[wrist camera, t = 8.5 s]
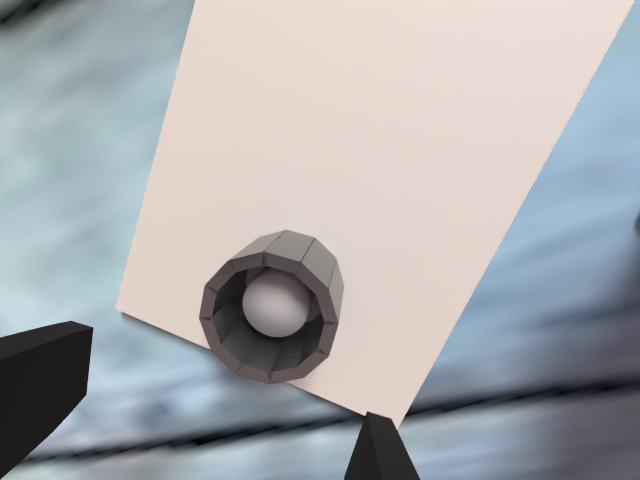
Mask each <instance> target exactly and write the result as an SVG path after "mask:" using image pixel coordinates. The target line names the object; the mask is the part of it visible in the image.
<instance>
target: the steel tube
mask: <svg viewBox="0 0 640 480" xmlns="http://www.w3.org/2000/svg"><path fill="white" fill-rule="evenodd" d="M263 265H265V266H269V267H272V268H276V269H280V270H283V271H287V272H290V273H294V274H295V275H296V276H297V277H298V278H299V279H300V280H301V281H302V282H303V283H304V284H305V285H306V286H307V287H308V288H310V289H311V290H312V291H313V292H314V293H315V294H316V296H317V299H318V302H319V306H320V309H321V313H320V314H319V315H318V316H316V317H315V318H314V319H313V320H312V321H309V322H305V323H304V324H303V326H302V327H301V328H300V329H299V330H298V331H296V332H295V333H293V334H291V335H288V336H285V337H272V336H268V335H265V334H263V333H261V332H259V331H258V330H256V329H255V328H254V327H253V326H252V325H251V324H250V323H249V321H248V320H247V318H246V316H245V314H244V310H243V296H244V293H245V291H246V289H247V287H246V284H245V281H246V277H247V272H248V269H251V268H255V267H259V266H263ZM343 291H344V283H343V279H342V276H341V272H340V269H339V265H338V262H337V259H336V257H335V256H334V255H333V254H332V253H331V252H330V251H329V250H328V249H327V248H326V247H325V246H324V245H323V244H322V243H321V242H319V241H318V240H317V239H316V238H315V237H312V236H308V235H305V234H301V233H297V232H294V231H290V230H283V231H279V232H276V233H272V234H268V235H264V236H260V237H258V238H257V239H256V240H254V241H253V242H252V243H250V244H249V245H248V246H246V247H245V248H244V249H242V250H241V251H240V252H238V253H237V254H236V255H234V256H233V257H232V258H231V259H229V260H228V261H227V262H226V263H225V264H224V265H223V266H222V267H221V268H220V269H219V270H218V271H217V273H216V274H215V275H214V276H213V277H212V278H211V279H210V280H209V281H208V282H207V283H206V284H205V286H204V291H203V297H202V302H201V308H200V313H199V320H200V323H201V326H202V328H203V331H204V334H205V336H206V339H207V342H208V345H209V347H210V350H211V351H212V352H213V353H214V354H215V355H216V356H217V357H219V358H220V359H221V360H222V361H223V362H224V363H225V364H226V365H227V366H228V367H229V368H231V369H232V370H233V371H234V372H235V373H236V374H238V375H241V376H245V377H248V378H251V379H255V380H258V381H261V382H265V383H268V384H270V383H271V384H274V383H280V382H285V381H290V380H296V379H301V378H305V377H306V376H307V375H308V374H309V373H310V372H312V371H313V370H314V369H315V368H316V367H317V366H319V365H320V364H321V363H322V362H323V361H324V360H325V359H327V358H328V357H329V355H330V352H331V349H332V345H333V342H334V338H335V335H336V331H337V328H338V324H339V318H340V311H341V304H342V297H343Z"/></svg>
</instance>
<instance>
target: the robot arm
mask: <svg viewBox="0 0 640 480" xmlns="http://www.w3.org/2000/svg"><path fill="white" fill-rule="evenodd" d="M92 335H93V327H90V326H86V325H83V324H80V323H76V322H73V321H68V322H63V323H58V324H53V325H49V326H44V327H40V328H36V329H32V330H28V331H24V332H20V333H16V334H13V335H9V336H5V337H1V338H0V479H1V478H3V477H4V476H5V475H6V474H7V473H8V472H9V471H10V470H11V469H13V468H14V467H15V466H16V465H17V464H18V463H19V462H20V461H22V460H23V459H24V458H25V457H26V456H27V455H28V454H29V453H30V452H31V451H33V450H34V449H35V448H36V447H37V446H38V445H39V444H40V443H41V442H43V441H44V440H45V439H46V438H47V437H48V436H49V435H50V434H51V433H52V432H53V431H54V430H55V429H56V428H57V427H58V426H59V425H60V424H61V423H62V422H63V420H64V419H65V418H66V417H67V416H68V415H69V414H70V413H71V412H72V411H73V409H74V408H75V407H76V406H77V405H78V404H79V402H80V401H81V400H82V399H83V398H84V397H85V396H86V393H87V383H88V374H89V364H90V354H91V345H92ZM344 480H420V478H419V476H418V474H417V472H416V470H415V468H414V465H413V463H412V461H411V459H410V457H409V455H408V453H407V451H406V448H405V446H404V444H403V442H402V440H401V438H400V435H399V433H398V431H397V429H396V427H395V425H394V423H393V421H392V419H391V418H388V417H385V416H381V415H378V414H375V413H371V412H368V411H367V413H366V416H365V418H364V421H363V424H362V427H361V430H360V433H359V436H358V439H357V442H356V445H355V448H354V450H353V453H352V456H351V459H350V462H349V465H348V468H347V471H346V474H345V477H344Z"/></svg>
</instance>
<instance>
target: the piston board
mask: <svg viewBox="0 0 640 480" xmlns="http://www.w3.org/2000/svg"><path fill="white" fill-rule="evenodd" d="M634 1H635V0H195V4H194V8H193V12H192V16H191V19H190V23H189V27H188V31H187V35H186V39H185V42H184V46H183V50H182V54H181V58H180V61H179V65H178V69H177V73H176V77H175V80H174V84H173V88H172V92H171V96H170V100H169V103H168V107H167V111H166V115H165V119H164V122H163V126H162V130H161V134H160V138H159V141H158V145H157V149H156V153H155V157H154V161H153V164H152V168H151V172H150V176H149V180H148V183H147V187H146V191H145V195H144V199H143V202H142V206H141V210H140V214H139V218H138V222H137V225H136V229H135V233H134V237H133V241H132V244H131V248H130V252H129V256H128V260H127V263H126V267H125V271H124V275H123V279H122V283H121V286H120V290H119V294H118V298H117V302H116V305H115V309H117V310H119V311H121V312H124V313H126V314H128V315H131V316H133V317H135V318H138V319H140V320H142V321H145V322H147V323H149V324H152V325H154V326H156V327H159V328H161V329H163V330H166V331H168V332H170V333H173V334H175V335H177V336H180V337H182V338H184V339H187V340H189V341H191V342H194V343H196V344H198V345H201V346H203V347H205V348H208V349H210V347H209V345H208V342H207V339H206V336H205V334H204V331H203V328H202V326H201V323H200V320H199V313H200V308H201V302H202V297H203V291H204V286H205V284H206V283H207V282H208V281H209V280H210V279H211V278H212V277H213V276H214V275H215V274H216V273H217V271H218V270H219V269H220V268H221V267H222V266H223V265H224V264H225V263H226V262H227V261H228V260H229V259H231V258H232V257H233V256H234V255H236V254H237V253H238V252H240V251H241V250H242V249H244V248H245V247H246V246H248V245H249V244H250V243H252V242H253V241H254V240H256V239H257V238H258V237H260V236H264V235H268V234H272V233H276V232H279V231H283V230H290V231H294V232H297V233H301V234H305V235H308V236H312V237H315V238H316V239H317V240H318V241H319V242H321V243H322V244H323V245H324V246H325V247H326V248H327V249H328V250H329V251H330V252H331V253H332V254H333V255H334V256H335V257H336V259H337V262H338V265H339V269H340V272H341V276H342V279H343V283H344V291H343V297H342V304H341V311H340V318H339V324H338V328H337V331H336V335H335V338H334V342H333V345H332V349H331V352H330V355H329V357H328V358H327V359H325V360H324V361H323V362H322V363H321V364H320V365H319V366H317V367H316V368H315V369H314V370H313V371H312V372H310V373H309V374H308V375H307V376H306V377H305V378H301V379H296V380H290V381H285V382H287V383H289V384H292V385H294V386H296V387H299V388H301V389H303V390H306V391H308V392H310V393H313V394H315V395H317V396H320V397H322V398H324V399H327V400H329V401H331V402H334V403H336V404H339V405H341V406H343V407H346V408H348V409H350V410H353V411H355V412H357V413H360V414H362V415H364V416H366V413H367V411H368V412H371V413H375V414H378V415H381V416H385V417H388V418H391V419H392V421H393V423H394V425H395V427H396V429H398V427H399V425H400V423H401V422H402V420H403V418H404V416H405V414H406V412H407V411H408V409H409V407H410V405H411V403H412V402H413V400H414V398H415V396H416V394H417V393H418V391H419V389H420V387H421V385H422V384H423V382H424V380H425V378H426V376H427V375H428V373H429V371H430V369H431V367H432V366H433V364H434V362H435V360H436V358H437V357H438V355H439V353H440V351H441V349H442V348H443V346H444V344H445V342H446V340H447V339H448V337H449V335H450V333H451V331H452V329H453V328H454V326H455V324H456V322H457V320H458V319H459V317H460V315H461V313H462V311H463V310H464V308H465V306H466V304H467V302H468V301H469V299H470V297H471V295H472V293H473V292H474V290H475V288H476V286H477V284H478V283H479V281H480V279H481V277H482V275H483V274H484V272H485V270H486V268H487V266H488V265H489V263H490V261H491V259H492V257H493V256H494V254H495V252H496V250H497V248H498V246H499V245H500V243H501V241H502V239H503V237H504V236H505V234H506V232H507V230H508V228H509V227H510V225H511V223H512V221H513V219H514V218H515V216H516V214H517V212H518V210H519V209H520V207H521V205H522V203H523V201H524V200H525V198H526V196H527V194H528V192H529V191H530V189H531V187H532V185H533V183H534V182H535V180H536V178H537V176H538V174H539V173H540V171H541V169H542V167H543V165H544V163H545V162H546V160H547V158H548V156H549V154H550V153H551V151H552V149H553V147H554V145H555V144H556V142H557V140H558V138H559V136H560V135H561V133H562V131H563V129H564V127H565V126H566V124H567V122H568V120H569V118H570V117H571V115H572V113H573V111H574V109H575V108H576V106H577V104H578V102H579V100H580V99H581V97H582V95H583V93H584V91H585V90H586V88H587V86H588V84H589V82H590V80H591V79H592V77H593V75H594V73H595V71H596V70H597V68H598V66H599V64H600V62H601V61H602V59H603V57H604V55H605V53H606V52H607V50H608V48H609V46H610V44H611V43H612V41H613V39H614V37H615V35H616V34H617V32H618V30H619V28H620V26H621V25H622V23H623V21H624V19H625V17H626V16H627V14H628V12H629V10H630V8H631V7H632V5H633V3H634ZM245 284H246V287H247V289H246V291H245V293H244V296H243V310H244V314H245V316H246V318H247V320H248V321H249V323H250V324H251V325H252V326H253V327H254V328H255V329H256V330H258V331H259V332H261V333H263V334H265V335H268V336H272V337H285V336H288V335H291V334H293V333H295V332H296V331H298V330H299V329H300V328H301V327H302V326H303V324H304V323H305V322H309V321H312V320H313V319H314V318H315V317H316V316H318V315H319V314H320V313H321V309H320V306H319V302H318V299H317V296H316V294H315V293H314V292H313V291H312V290H311V289H310V288H308V287H307V286H306V285H305V284H304V283H303V282H302V281H301V280H300V279H299V278H298V277H297V276H296V275H295V274H294V273H290V272H287V271H283V270H280V269H276V268H272V267H269V266H265V265H263V266H259V267H255V268H251V269H248V272H247V277H246V281H245Z"/></svg>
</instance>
